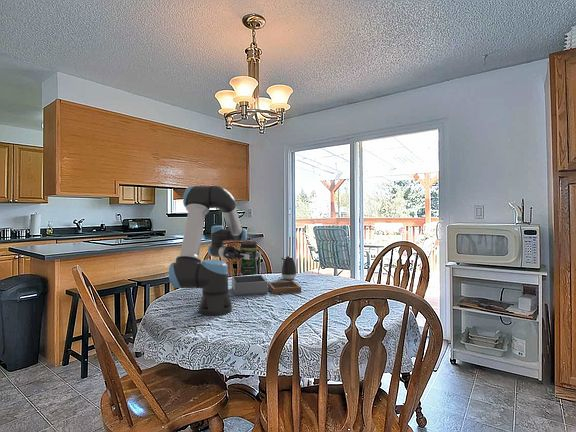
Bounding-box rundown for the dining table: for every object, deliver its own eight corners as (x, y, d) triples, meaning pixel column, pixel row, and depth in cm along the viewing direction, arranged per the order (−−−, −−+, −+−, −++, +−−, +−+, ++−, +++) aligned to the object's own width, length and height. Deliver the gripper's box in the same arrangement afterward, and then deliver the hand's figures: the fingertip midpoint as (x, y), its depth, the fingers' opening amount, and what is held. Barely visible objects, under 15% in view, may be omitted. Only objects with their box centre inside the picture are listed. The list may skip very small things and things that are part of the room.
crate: (267, 294, 187) (267, 281, 187) (234, 296, 183) (234, 283, 182) (262, 286, 204) (261, 274, 204) (231, 288, 200) (231, 276, 200)
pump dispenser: (278, 277, 229) (278, 255, 228) (292, 276, 233) (292, 254, 232) (284, 281, 219) (284, 257, 219) (299, 279, 224) (299, 256, 223)
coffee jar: (239, 274, 190) (239, 241, 189) (242, 272, 198) (241, 240, 197) (256, 275, 189) (256, 241, 189) (258, 272, 197) (258, 240, 197)
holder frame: (301, 292, 191) (301, 286, 191) (273, 294, 187) (273, 288, 187) (293, 285, 206) (293, 280, 206) (267, 287, 202) (267, 282, 202)
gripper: (241, 256, 213) (267, 260, 199) (213, 260, 196) (240, 265, 182) (240, 244, 213) (267, 247, 198) (213, 248, 196) (240, 251, 182)
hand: (254, 255), depth 190 cm, fingers closed on coffee jar, 9 cm apart
